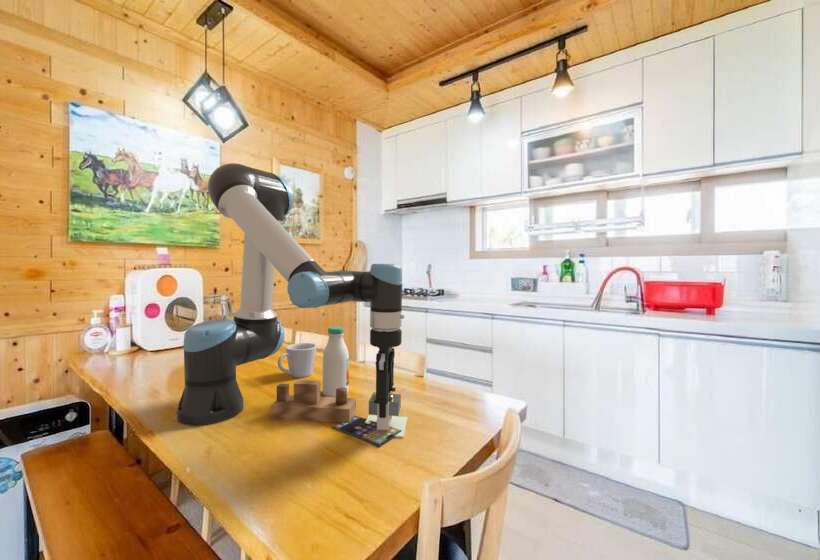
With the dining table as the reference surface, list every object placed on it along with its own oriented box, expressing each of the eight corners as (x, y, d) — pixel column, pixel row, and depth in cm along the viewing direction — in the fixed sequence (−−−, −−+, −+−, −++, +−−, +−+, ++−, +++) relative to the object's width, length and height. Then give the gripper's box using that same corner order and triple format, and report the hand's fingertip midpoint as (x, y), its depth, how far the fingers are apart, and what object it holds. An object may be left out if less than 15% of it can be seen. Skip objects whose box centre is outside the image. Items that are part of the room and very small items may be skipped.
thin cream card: (360, 435, 81) (360, 433, 81) (368, 416, 91) (368, 415, 91) (403, 437, 81) (403, 436, 81) (407, 418, 90) (407, 417, 90)
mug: (323, 373, 126) (323, 345, 126) (288, 385, 114) (288, 354, 113) (303, 368, 132) (303, 341, 131) (267, 379, 119) (267, 349, 119)
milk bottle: (342, 399, 103) (343, 330, 102) (318, 396, 104) (318, 329, 103) (352, 389, 110) (352, 325, 109) (329, 387, 112) (329, 324, 111)
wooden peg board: (271, 418, 89) (270, 385, 89) (283, 407, 96) (283, 376, 96) (349, 422, 88) (349, 389, 87) (355, 411, 95) (356, 379, 94)
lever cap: (368, 414, 83) (368, 396, 83) (372, 405, 89) (372, 389, 88) (398, 415, 83) (398, 398, 83) (400, 406, 88) (400, 390, 88)
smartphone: (354, 417, 92) (355, 413, 92) (401, 435, 83) (401, 429, 83) (331, 429, 85) (331, 424, 85) (379, 449, 76) (379, 444, 76)
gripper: (397, 336, 75) (395, 443, 77) (405, 322, 93) (403, 408, 95) (362, 335, 76) (361, 441, 77) (376, 321, 94) (376, 407, 95)
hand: (384, 423), depth 86 cm, fingers closed on lever cap, 5 cm apart
